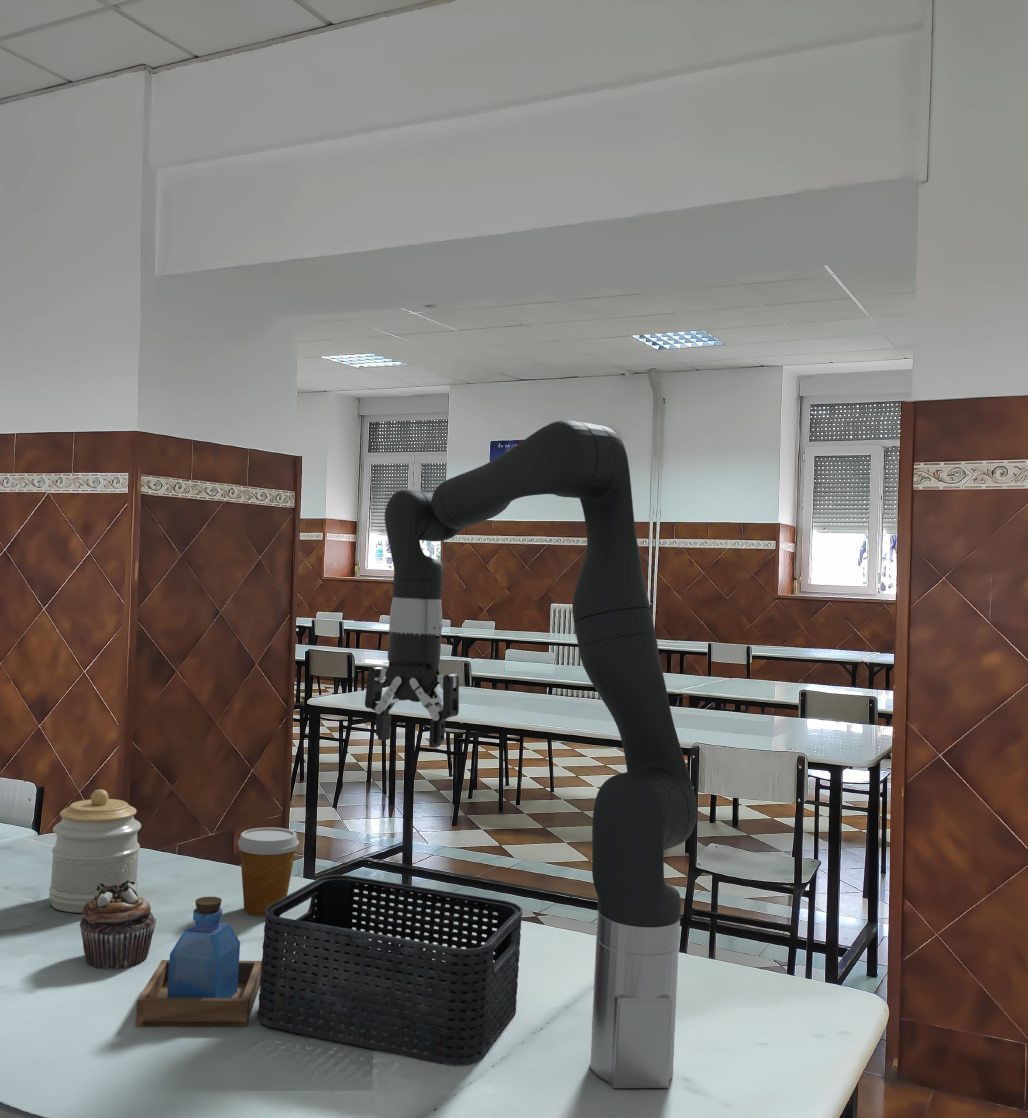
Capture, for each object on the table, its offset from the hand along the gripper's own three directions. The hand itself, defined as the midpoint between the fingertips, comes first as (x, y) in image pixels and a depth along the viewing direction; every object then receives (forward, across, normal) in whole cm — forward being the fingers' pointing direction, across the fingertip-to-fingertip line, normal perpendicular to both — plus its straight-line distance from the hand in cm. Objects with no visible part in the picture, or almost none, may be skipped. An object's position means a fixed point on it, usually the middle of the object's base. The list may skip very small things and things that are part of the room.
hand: (409, 743), depth 145 cm
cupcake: (+30, -31, -22) cm, 49 cm away
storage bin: (+30, +10, -17) cm, 36 cm away
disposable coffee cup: (+30, -28, +5) cm, 41 cm away
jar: (+30, -52, -7) cm, 61 cm away
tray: (+30, -11, -27) cm, 42 cm away
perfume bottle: (+30, -11, -27) cm, 42 cm away
